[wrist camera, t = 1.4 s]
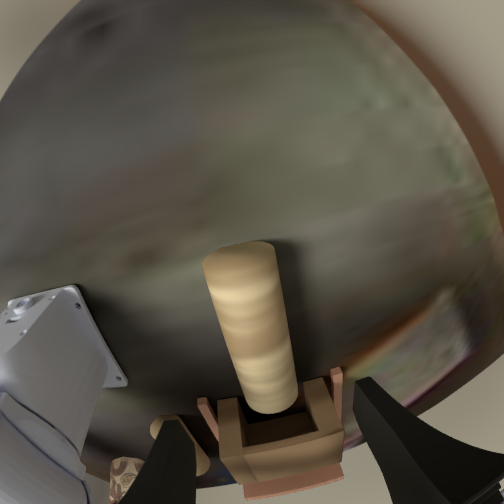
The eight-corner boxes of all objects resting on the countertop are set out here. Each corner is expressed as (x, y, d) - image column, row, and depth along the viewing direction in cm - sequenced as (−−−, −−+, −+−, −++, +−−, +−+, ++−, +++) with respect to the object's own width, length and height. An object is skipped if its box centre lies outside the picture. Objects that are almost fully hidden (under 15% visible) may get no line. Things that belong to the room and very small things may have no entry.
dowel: (201, 252, 17) (202, 281, 14) (265, 235, 18) (283, 260, 14) (242, 382, 22) (250, 419, 18) (289, 368, 22) (305, 404, 18)
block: (217, 400, 22) (219, 458, 16) (322, 376, 22) (344, 430, 17) (234, 434, 24) (239, 484, 19) (324, 414, 24) (341, 461, 19)
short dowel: (168, 408, 23) (143, 428, 21) (189, 425, 21) (163, 447, 19) (196, 448, 26) (176, 465, 24) (216, 462, 24) (195, 481, 22)
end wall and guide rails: (197, 398, 22) (196, 457, 16) (339, 366, 22) (365, 419, 17) (232, 458, 26) (236, 501, 21) (338, 434, 27) (353, 475, 21)
